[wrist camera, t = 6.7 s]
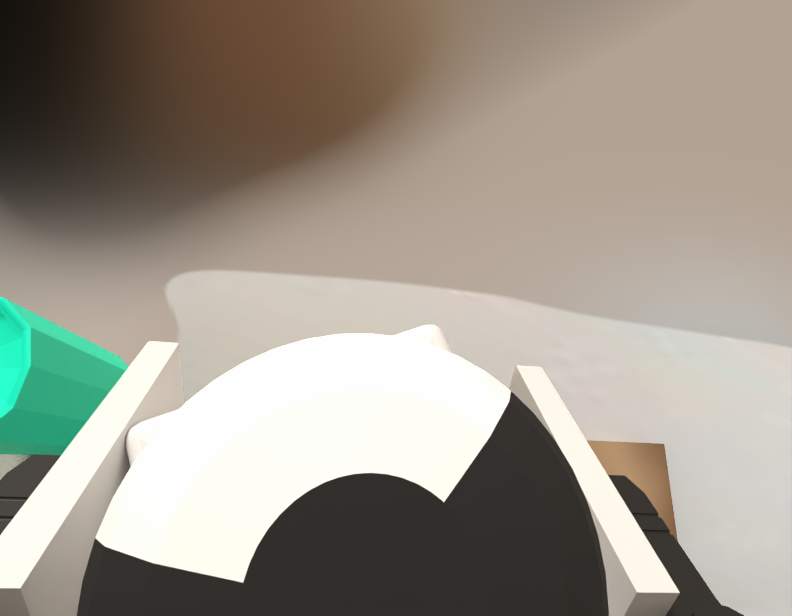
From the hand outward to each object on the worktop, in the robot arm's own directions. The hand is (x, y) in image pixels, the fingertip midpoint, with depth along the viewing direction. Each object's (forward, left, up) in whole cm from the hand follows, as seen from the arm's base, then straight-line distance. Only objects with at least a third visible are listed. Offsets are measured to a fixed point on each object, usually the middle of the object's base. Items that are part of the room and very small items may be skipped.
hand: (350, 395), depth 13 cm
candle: (-15, +1, -16) cm, 22 cm away
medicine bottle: (0, -3, -4) cm, 5 cm away
